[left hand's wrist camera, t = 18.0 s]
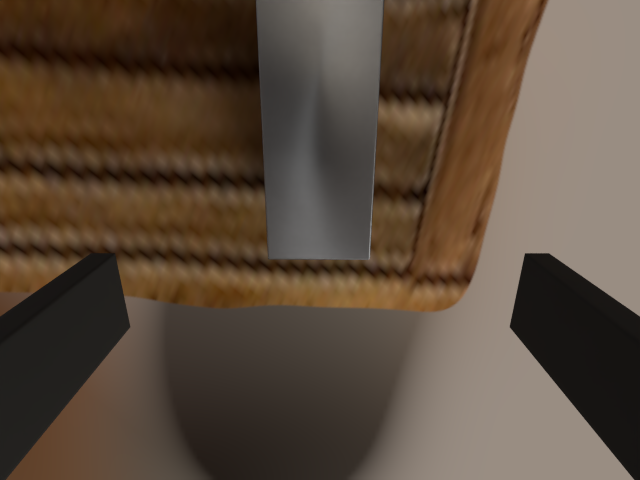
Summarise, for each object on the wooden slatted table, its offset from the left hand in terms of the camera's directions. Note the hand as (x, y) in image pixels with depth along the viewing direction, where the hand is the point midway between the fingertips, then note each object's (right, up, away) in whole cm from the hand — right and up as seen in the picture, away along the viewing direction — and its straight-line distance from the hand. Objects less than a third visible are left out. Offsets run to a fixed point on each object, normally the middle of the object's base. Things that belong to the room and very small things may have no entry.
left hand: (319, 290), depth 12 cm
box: (0, +14, +18) cm, 23 cm away
